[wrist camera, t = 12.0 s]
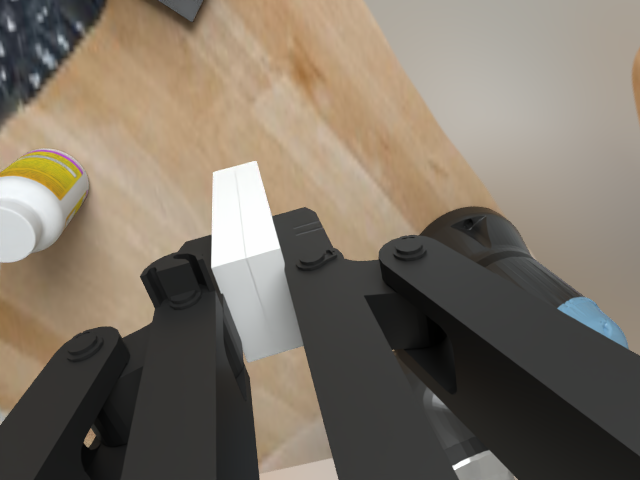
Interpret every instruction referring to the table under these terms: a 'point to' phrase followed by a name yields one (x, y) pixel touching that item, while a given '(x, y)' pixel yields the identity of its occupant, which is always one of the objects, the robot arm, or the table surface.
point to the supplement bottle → (38, 201)
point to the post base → (184, 7)
